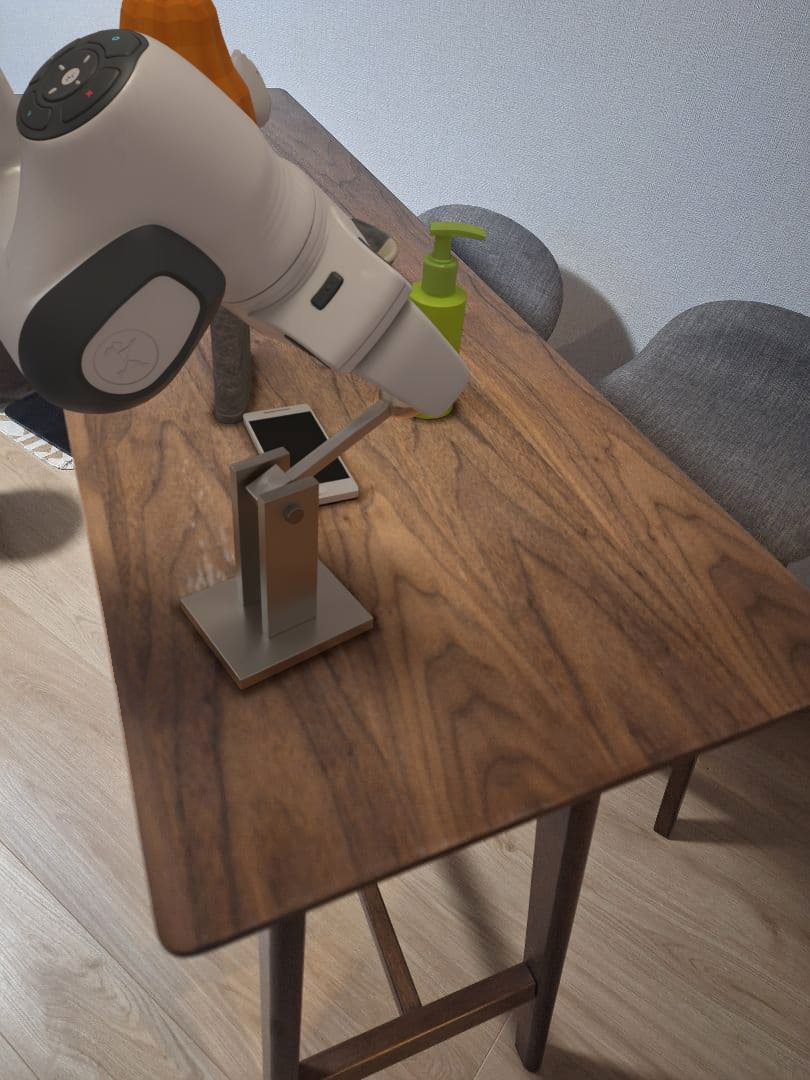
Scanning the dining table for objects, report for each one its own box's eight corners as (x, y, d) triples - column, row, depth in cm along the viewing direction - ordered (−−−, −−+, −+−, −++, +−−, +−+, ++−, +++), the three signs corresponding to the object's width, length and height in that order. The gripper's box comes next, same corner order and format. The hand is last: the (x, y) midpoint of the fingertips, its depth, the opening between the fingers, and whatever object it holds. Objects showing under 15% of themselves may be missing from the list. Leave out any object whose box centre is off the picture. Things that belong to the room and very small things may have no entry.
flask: (255, 352, 105) (249, 196, 93) (251, 424, 94) (245, 258, 82) (222, 352, 104) (213, 195, 92) (215, 423, 94) (203, 256, 82)
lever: (413, 385, 70) (400, 352, 67) (441, 407, 68) (430, 374, 65) (256, 505, 68) (236, 476, 65) (280, 533, 65) (261, 504, 63)
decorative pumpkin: (90, 152, 147) (58, -69, 127) (233, 142, 156) (224, -66, 136) (121, 208, 132) (90, -33, 112) (278, 194, 140) (275, -33, 120)
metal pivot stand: (307, 556, 80) (309, 414, 70) (372, 628, 74) (384, 484, 64) (181, 609, 74) (163, 462, 64) (241, 690, 68) (231, 543, 58)
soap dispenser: (462, 421, 97) (488, 241, 84) (398, 417, 97) (413, 235, 84) (461, 392, 102) (485, 216, 89) (399, 387, 101) (414, 210, 88)
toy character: (281, 132, 161) (280, 58, 154) (225, 137, 157) (221, 61, 149) (259, 114, 168) (257, 42, 160) (204, 118, 164) (199, 44, 156)
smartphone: (287, 511, 84) (287, 503, 83) (242, 420, 94) (241, 412, 94) (360, 497, 86) (360, 489, 86) (307, 409, 97) (308, 402, 96)
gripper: (176, 237, 61) (302, 334, 72) (346, 381, 49) (465, 470, 60) (233, 159, 60) (351, 269, 71) (419, 286, 48) (526, 394, 59)
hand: (405, 362), depth 66 cm, fingers closed
